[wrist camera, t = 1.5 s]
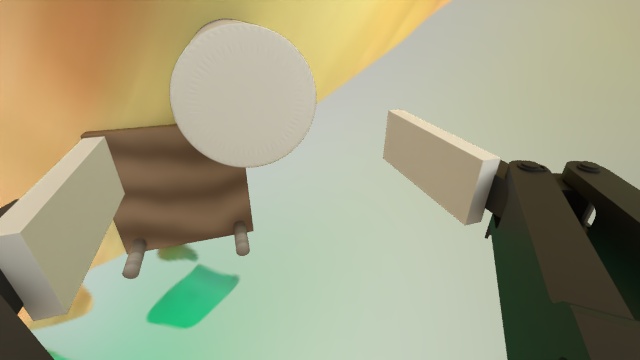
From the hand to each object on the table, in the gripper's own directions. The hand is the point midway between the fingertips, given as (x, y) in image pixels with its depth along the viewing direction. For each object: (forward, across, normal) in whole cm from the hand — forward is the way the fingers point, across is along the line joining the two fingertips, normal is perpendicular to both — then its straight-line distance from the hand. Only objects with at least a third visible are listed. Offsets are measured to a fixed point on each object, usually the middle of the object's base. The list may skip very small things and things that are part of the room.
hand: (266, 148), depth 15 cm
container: (+28, 0, 0) cm, 28 cm away
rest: (+28, -9, -16) cm, 33 cm away
